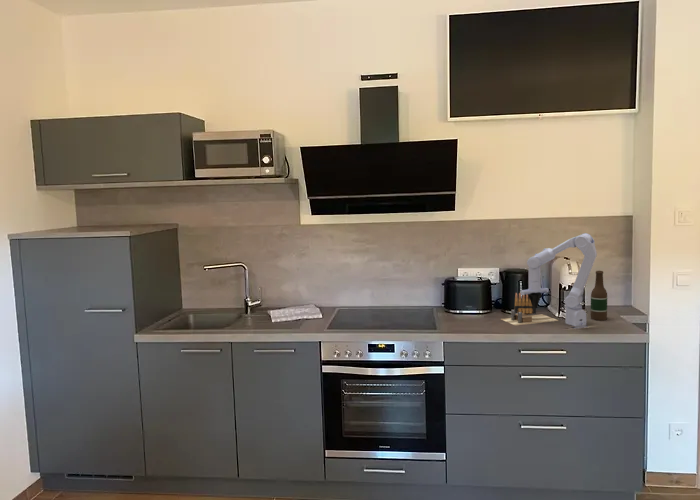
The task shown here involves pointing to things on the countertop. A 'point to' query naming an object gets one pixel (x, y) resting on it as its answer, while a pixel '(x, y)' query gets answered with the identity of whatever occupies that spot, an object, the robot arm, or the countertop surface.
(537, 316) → the bench board
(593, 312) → the beer bottle
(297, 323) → the countertop surface
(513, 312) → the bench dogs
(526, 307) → the ammunition clip
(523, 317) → the tan cardboard box
